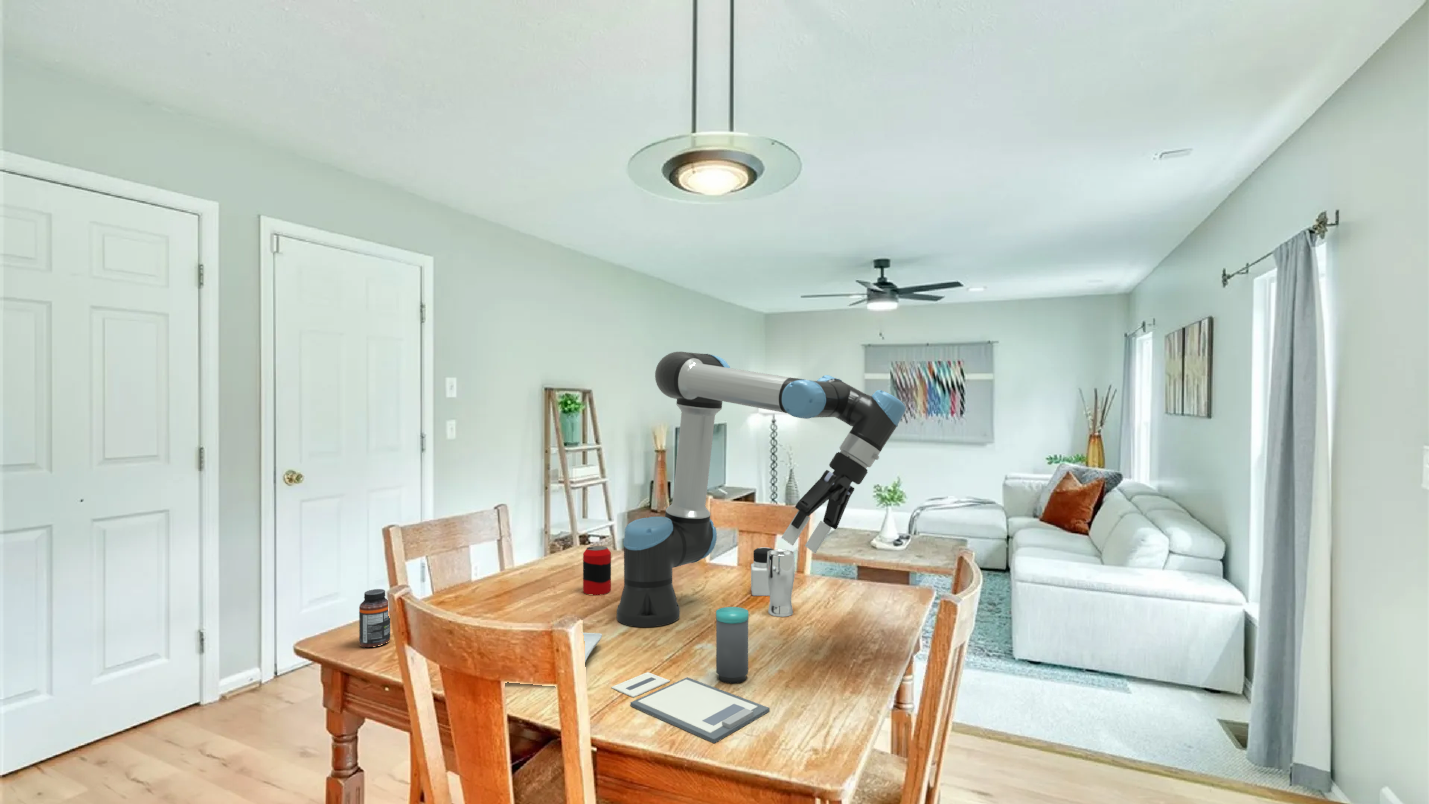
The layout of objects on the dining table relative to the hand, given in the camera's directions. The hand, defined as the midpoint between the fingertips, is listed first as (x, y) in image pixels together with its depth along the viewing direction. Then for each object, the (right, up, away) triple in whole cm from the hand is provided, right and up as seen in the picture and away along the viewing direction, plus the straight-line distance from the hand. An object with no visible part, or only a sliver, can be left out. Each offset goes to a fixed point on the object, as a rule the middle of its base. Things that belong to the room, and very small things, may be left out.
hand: (798, 545), depth 138 cm
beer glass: (-1, -22, +26) cm, 34 cm away
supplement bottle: (-91, -22, +4) cm, 93 cm away
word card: (-31, -22, -17) cm, 42 cm away
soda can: (-50, -22, +44) cm, 70 cm away
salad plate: (-52, -22, -7) cm, 57 cm away
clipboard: (-20, -22, -26) cm, 40 cm away
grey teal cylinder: (-14, -22, -14) cm, 29 cm away
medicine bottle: (-4, -23, +44) cm, 49 cm away
